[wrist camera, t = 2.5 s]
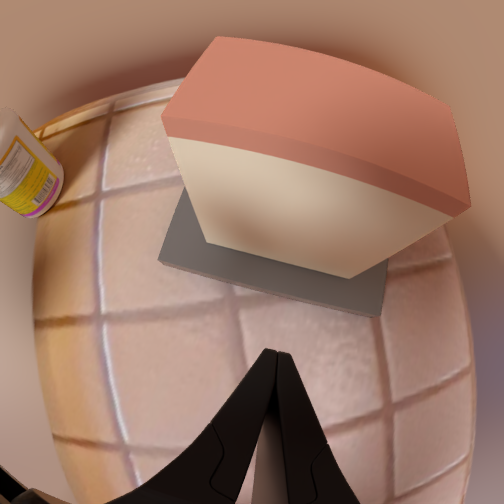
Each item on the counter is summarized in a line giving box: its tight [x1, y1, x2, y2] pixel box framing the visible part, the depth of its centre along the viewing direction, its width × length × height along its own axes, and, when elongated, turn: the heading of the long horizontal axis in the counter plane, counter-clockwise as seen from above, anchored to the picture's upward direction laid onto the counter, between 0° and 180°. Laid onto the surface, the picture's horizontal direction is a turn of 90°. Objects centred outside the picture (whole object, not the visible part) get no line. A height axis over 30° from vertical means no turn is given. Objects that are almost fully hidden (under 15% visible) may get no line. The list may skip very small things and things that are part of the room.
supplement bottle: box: [0, 108, 64, 218], centre depth 15 cm, size 7×7×13 cm
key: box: [161, 36, 471, 279], centre depth 13 cm, size 5×10×12 cm, turn 76°
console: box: [158, 187, 388, 318], centre depth 21 cm, size 16×16×2 cm
